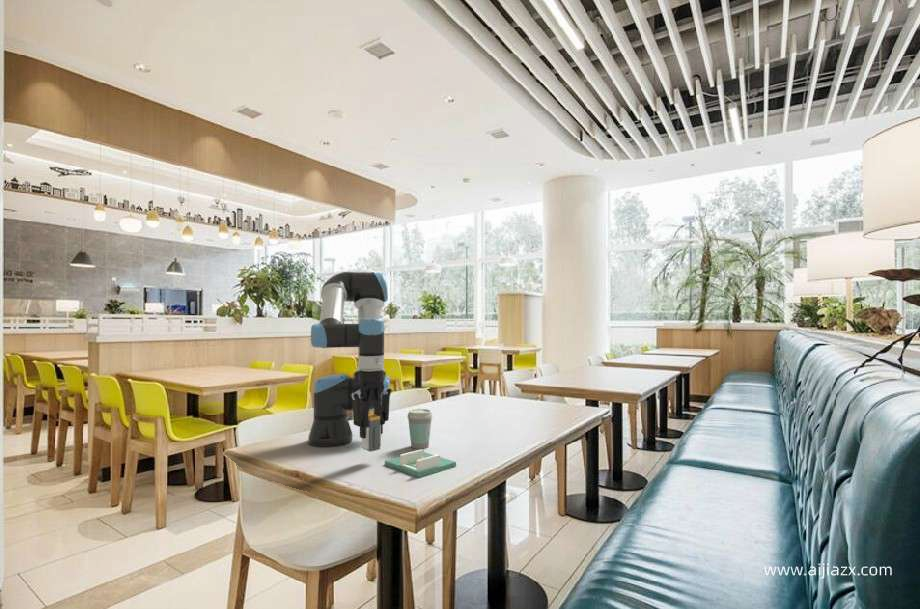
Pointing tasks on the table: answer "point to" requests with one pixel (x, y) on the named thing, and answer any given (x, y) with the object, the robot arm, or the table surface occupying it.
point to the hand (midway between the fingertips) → (371, 446)
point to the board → (420, 463)
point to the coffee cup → (419, 427)
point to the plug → (373, 432)
